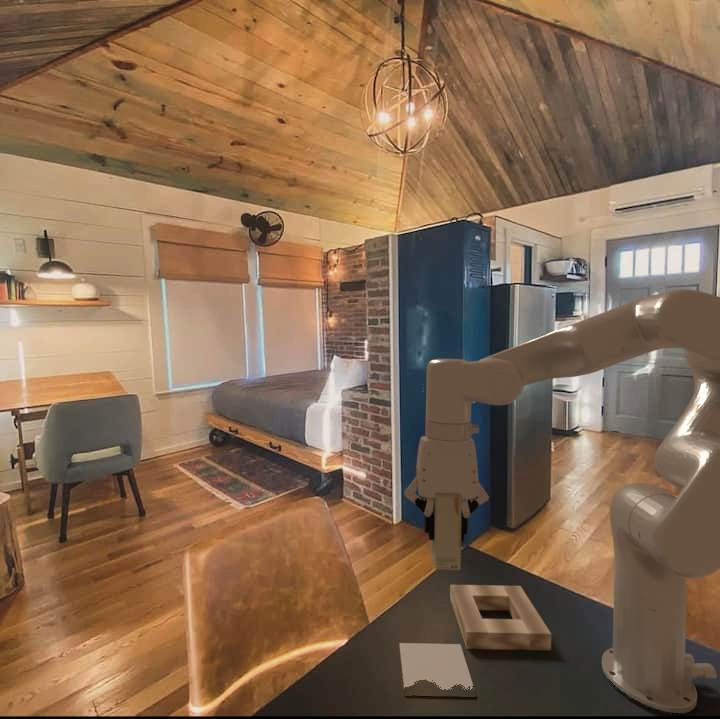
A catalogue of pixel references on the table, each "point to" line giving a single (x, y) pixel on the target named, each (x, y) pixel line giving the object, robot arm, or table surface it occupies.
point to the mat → (434, 665)
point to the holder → (498, 633)
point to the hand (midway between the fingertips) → (445, 536)
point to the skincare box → (447, 532)
